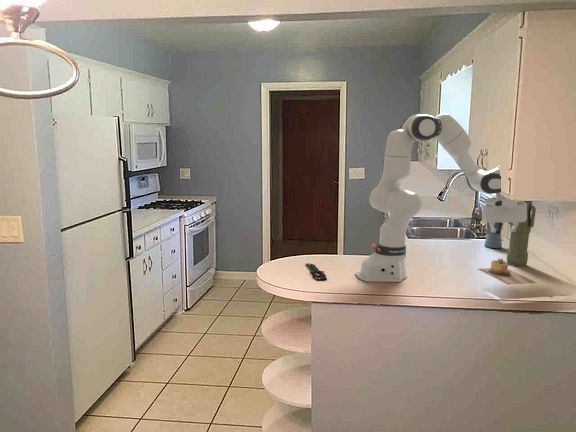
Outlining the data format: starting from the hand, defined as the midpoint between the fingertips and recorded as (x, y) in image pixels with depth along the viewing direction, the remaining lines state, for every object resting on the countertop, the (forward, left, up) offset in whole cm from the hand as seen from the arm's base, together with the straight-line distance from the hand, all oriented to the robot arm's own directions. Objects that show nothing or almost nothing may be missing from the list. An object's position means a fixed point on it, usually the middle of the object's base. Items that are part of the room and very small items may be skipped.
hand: (502, 232), depth 213 cm
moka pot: (+29, +47, -20) cm, 59 cm away
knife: (-81, +18, -21) cm, 86 cm away
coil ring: (0, 0, -18) cm, 18 cm away
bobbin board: (0, -5, -20) cm, 21 cm away
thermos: (+17, +11, -20) cm, 29 cm away
